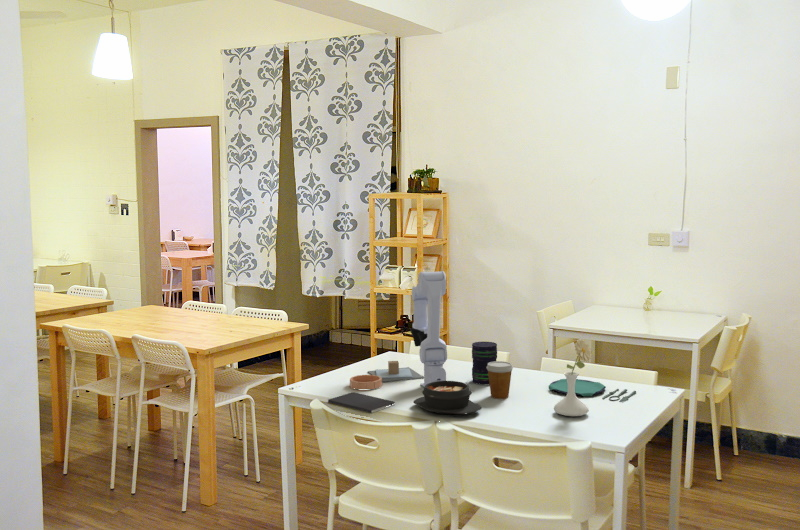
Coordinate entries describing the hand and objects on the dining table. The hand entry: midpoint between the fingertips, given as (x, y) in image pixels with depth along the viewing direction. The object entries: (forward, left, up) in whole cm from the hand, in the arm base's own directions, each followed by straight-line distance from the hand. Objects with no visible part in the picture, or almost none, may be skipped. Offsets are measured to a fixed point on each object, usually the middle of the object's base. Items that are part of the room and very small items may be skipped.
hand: (420, 347), depth 308 cm
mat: (-2, +12, -10) cm, 16 cm away
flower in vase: (-74, -26, -10) cm, 79 cm away
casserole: (-54, +11, -10) cm, 56 cm away
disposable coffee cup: (-46, -13, -10) cm, 49 cm away
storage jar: (-25, -17, -10) cm, 32 cm away
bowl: (-14, +28, -10) cm, 33 cm away
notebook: (-36, +36, -11) cm, 52 cm away
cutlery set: (-53, -46, -11) cm, 71 cm away
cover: (-2, +13, -9) cm, 16 cm away
